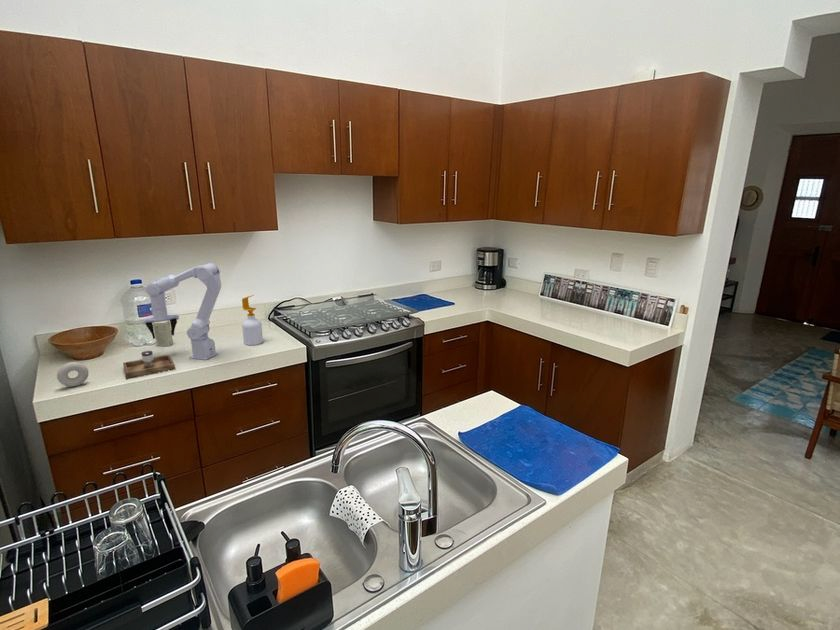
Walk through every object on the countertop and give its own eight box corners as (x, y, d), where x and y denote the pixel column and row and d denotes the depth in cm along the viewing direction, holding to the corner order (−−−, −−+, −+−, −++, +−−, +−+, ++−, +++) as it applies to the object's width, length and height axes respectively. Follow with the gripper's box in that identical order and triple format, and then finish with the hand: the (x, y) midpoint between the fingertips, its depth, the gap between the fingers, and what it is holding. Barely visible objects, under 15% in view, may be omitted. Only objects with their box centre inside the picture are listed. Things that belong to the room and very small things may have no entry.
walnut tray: (170, 359, 207) (169, 354, 207) (175, 369, 196) (174, 364, 196) (123, 368, 197) (122, 362, 196) (126, 379, 186) (125, 373, 186)
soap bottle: (255, 346, 225) (250, 298, 218) (240, 344, 228) (235, 296, 221) (266, 340, 233) (262, 294, 226) (252, 338, 236) (247, 292, 229)
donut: (60, 391, 175) (54, 367, 172) (59, 388, 178) (53, 364, 175) (91, 383, 182) (86, 360, 179) (90, 381, 184) (85, 358, 181)
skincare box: (173, 343, 228) (170, 320, 225) (169, 346, 224) (165, 322, 221) (160, 343, 228) (156, 320, 225) (156, 346, 224) (152, 322, 220)
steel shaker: (157, 366, 198) (154, 351, 196) (149, 369, 194) (146, 354, 192) (149, 365, 199) (147, 350, 197) (141, 368, 195) (139, 353, 194)
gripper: (175, 303, 213) (179, 331, 216) (139, 308, 205) (144, 337, 208) (178, 307, 207) (182, 335, 211) (141, 311, 199) (146, 341, 203)
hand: (163, 336), depth 209 cm, fingers open, 7 cm apart
